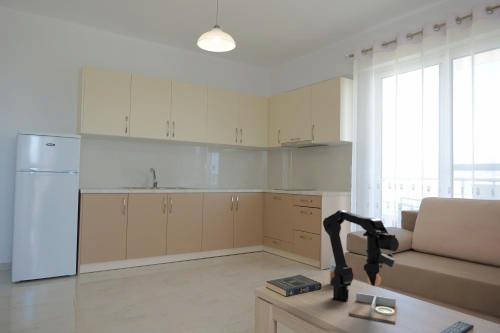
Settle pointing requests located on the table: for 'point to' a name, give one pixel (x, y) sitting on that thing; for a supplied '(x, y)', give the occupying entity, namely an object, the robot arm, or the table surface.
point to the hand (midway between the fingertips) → (374, 283)
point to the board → (374, 308)
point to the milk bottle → (332, 268)
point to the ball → (377, 282)
